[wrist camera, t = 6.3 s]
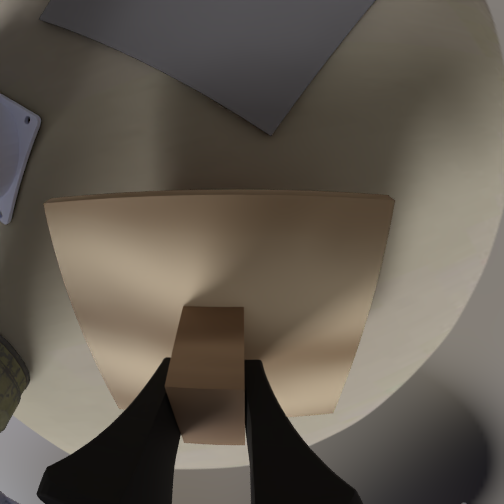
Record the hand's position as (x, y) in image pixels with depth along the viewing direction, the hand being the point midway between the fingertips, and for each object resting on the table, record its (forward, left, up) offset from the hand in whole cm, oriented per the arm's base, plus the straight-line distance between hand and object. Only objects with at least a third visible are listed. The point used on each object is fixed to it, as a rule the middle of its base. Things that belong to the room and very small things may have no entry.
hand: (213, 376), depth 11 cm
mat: (-11, +17, -8) cm, 22 cm away
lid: (0, 0, -2) cm, 2 cm away
